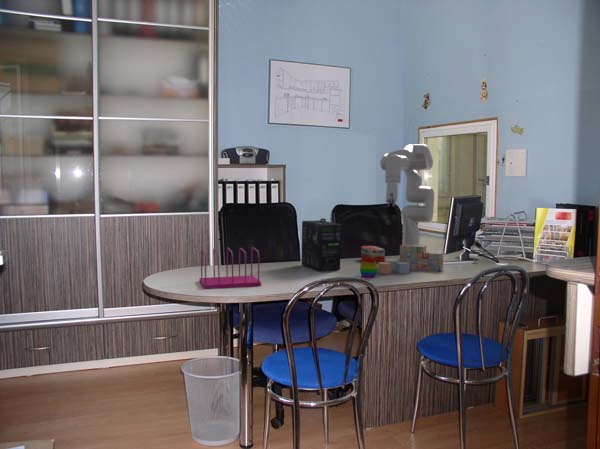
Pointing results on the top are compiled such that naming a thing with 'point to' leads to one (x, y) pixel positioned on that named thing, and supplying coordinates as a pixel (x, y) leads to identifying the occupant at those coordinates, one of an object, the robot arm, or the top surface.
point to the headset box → (321, 245)
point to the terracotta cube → (384, 268)
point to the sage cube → (392, 263)
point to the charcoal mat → (389, 274)
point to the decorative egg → (368, 268)
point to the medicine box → (373, 253)
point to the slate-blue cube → (402, 267)
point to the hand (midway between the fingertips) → (391, 214)
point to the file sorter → (227, 281)
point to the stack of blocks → (421, 258)
